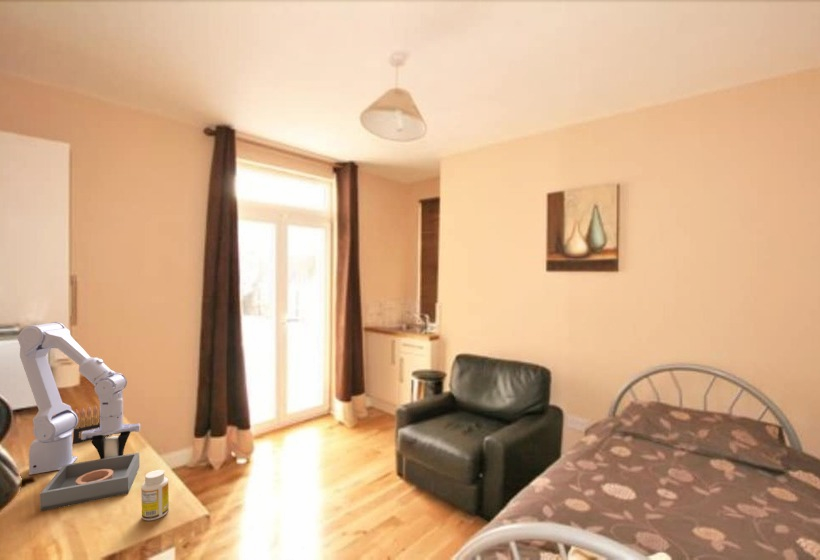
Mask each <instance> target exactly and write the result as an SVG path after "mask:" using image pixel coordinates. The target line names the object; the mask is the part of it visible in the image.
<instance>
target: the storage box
mask: <svg viewBox="0 0 820 560" xmlns="http://www.w3.org/2000/svg"><path fill="white" fill-rule="evenodd" d="M139 469H140V452H135V453H128V454H123V455H121V456H115V457H109V458H103V459H100V458H97V459H93V460H86V461H79V462H74V463H73V464H67V465H63V467H62V468H61V469H60V470H57V471H58V472H56V474H55V475H54V476H53V478H52V479H51V480H50V481H48V484H47V485H46V486H45V487H44V488H43V490H42V491H41V492H40V493H39V495H40V496H39V497H40V499H39V500H40V503H39V504H40V506H39V507H40V508H39V509H40V512H44V511H51V510H53V509H54V510H55V509H59V507H60V508H64V506H65V507H68V505H70V506H73V505H74V506H75V505H78V504H83V503H84V504H86V503H88V502H89V503H90V502H93V501H94V502H95V501H98V500H99V501H100V500H103V499H107V498H114V497H118V496H123V495H129V493H130V491H131V488H132V485H133V483H134V481H135V479H136V476H137V474H138V472H137V471H139Z"/></svg>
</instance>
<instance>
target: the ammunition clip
mask: <svg viewBox="0 0 820 560" xmlns="http://www.w3.org/2000/svg"><path fill="white" fill-rule="evenodd" d="M86 410H87V411H85V409H84V407H81V410H80V416H79V410H78V409H77V408H75V410H74V411H73V412H74V413H75V414H76V415H77V416H78V424H77V426H76V427H75V428H73V429H74V432H72V445H73V444H74V445H75V444H80V443H85V442H87V441H92V438H86V439H84V440H81V433H82V432H83V431H88V430H93V429H97V428H100V411H99V415H98V407H97V405H94V406H93V410H92V409H91V406H88V407H87V409H86ZM92 413H93V414H92ZM106 436H107V437H110V436H109V435H106ZM106 436H105V438H107V437H106Z"/></svg>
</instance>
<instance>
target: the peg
mask: <svg viewBox="0 0 820 560" xmlns="http://www.w3.org/2000/svg"><path fill="white" fill-rule="evenodd" d="M118 437H119V435H114V436H113V435H111V436H107V437H105V439H104V458H109V457H115V456H119V440H118Z"/></svg>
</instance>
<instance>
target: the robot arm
mask: <svg viewBox="0 0 820 560" xmlns="http://www.w3.org/2000/svg"><path fill="white" fill-rule="evenodd" d="M16 338H17V342H18V344H19V346H20V347H19V358H20V362H21V364H22V367H23V368H24V372H25V374H26V375H25V376H26V378H27V381H28V384H29V387H30V389H31V392H32V396H33V398H34V401H35V404H36V407H37V409H38V411H37V413H36V415H34V417H33V418H32V424H33V430H32V434H33V436H34V438H35V439H34V440H33V441H32V442H31V444H30V446H29V450H28V451H29V452H28V457H29V458H28V464H29V467H28V469H29V470H28V471H29V472H28V476H30V475H37V474H41V473H42V474H43V473H48V472H55V471H59V470H60V469H61V468H62V467H63V465H67V464H73V463H75V462H76V460H77V459H78V456H77V455H75V456H73V432H74V429H73V428H75V427H76V426H77V424H78V416H79V415H78V416H77V415H76V414H75V413H74V412H75V411H74V410H73V409H72V406H71V405H70V404H68V403H64V402H63V400H62V397H61V395H60V391H59V389H58V386H57V383H56V380H55V377H54V374H53V372H52V368H51V366H50V362H49V360H48V357H47V354H48V353H49V352H50V350H52V349H57V350H59V351H61V352H62V353H63V354H64V355H66V356H67V357H68V358H69V359H70V360H72V361H74V362H75V363H76V364H77V365H78V372H79V373H80V374H81V375H83V377H84V378H85V379H87V380H88V381H89V382H90V383H91V384H92V385H93V386H94V393H95V394H96V396H97V397H98V401H99V412H100V428H97V429H92V430H88V431H83V432H82V433H81V440H84V439H86V438H92V440H90V442H91V444H92V445H93V446H94V448H95V450H96V451H97V453H98V455H99V459H103V458H104V439H106V437H105V436H106V435H111V436H113V435H118V434H119V435H118V436H119V437H118V440H119V456H121V455H124V452H125V451H124V450H125V446H126V443H127V442H128V438H130V437H129V436H130V435H131V433H133V432H135V433H137V432H140V431H141V423H126V424H125V423H124V399H123V398H124V395H123V394H124V393H123V392H124V389H125V388H127V384H128V380H127V378H126V377H125V375H124V374H123V373H120V372H116V371H114V370H113V369H112V370H111V368H109V367H108V365H106V363H104V360H103V359H102V358H99V357H92V356H90V355H89V353H87V352H86V350H85V349H84V348H83V347H82V346H81V345H80V344H79V343H78V342H77V341H76V340H75V339H74V338H73V337H72V335H71V330H70V329H68V328H67V327H66V326H65V324H63V323H61V322H59V321H53V322H50V323H49V322H48V323H42V324H37V325H36V324H35V325H34V324H33V325H31V324H30V325H28V326H25V327H24V328H23V329H22V330H21V331H20V333H19V334H18V335H17V336H16Z"/></svg>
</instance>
